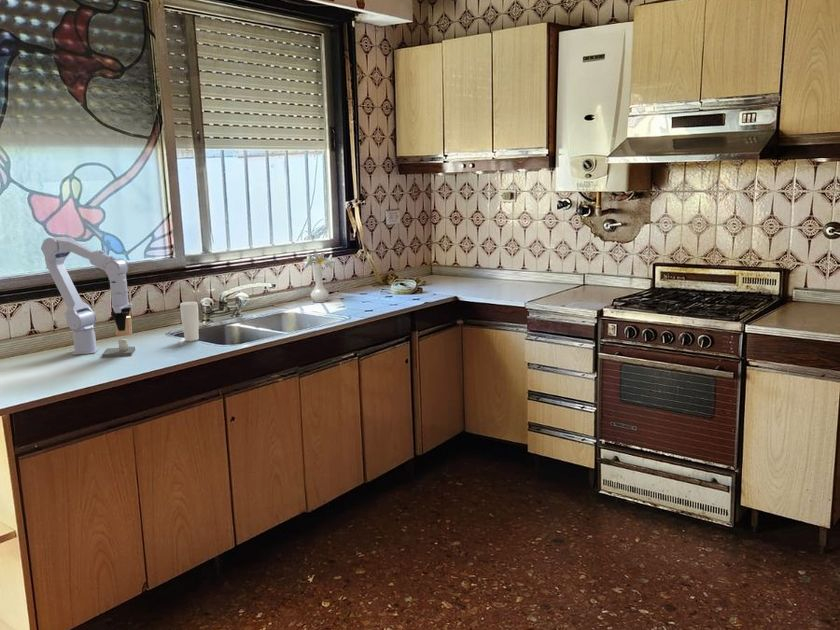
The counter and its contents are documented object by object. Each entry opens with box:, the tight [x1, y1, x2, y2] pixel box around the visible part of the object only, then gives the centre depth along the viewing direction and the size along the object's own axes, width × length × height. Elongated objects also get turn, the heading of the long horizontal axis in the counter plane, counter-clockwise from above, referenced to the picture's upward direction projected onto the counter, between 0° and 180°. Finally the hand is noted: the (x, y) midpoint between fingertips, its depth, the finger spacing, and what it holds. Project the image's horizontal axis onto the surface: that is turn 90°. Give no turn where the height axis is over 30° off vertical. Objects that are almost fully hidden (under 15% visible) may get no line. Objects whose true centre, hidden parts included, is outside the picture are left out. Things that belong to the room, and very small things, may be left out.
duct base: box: [101, 338, 136, 358], centre depth 275 cm, size 10×10×5 cm
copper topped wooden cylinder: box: [114, 314, 133, 337], centre depth 273 cm, size 6×6×7 cm
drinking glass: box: [179, 301, 200, 342], centre depth 294 cm, size 7×7×15 cm
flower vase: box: [302, 252, 337, 303], centre depth 376 cm, size 13×18×25 cm
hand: (123, 328), depth 273 cm, fingers closed on copper topped wooden cylinder, 5 cm apart
